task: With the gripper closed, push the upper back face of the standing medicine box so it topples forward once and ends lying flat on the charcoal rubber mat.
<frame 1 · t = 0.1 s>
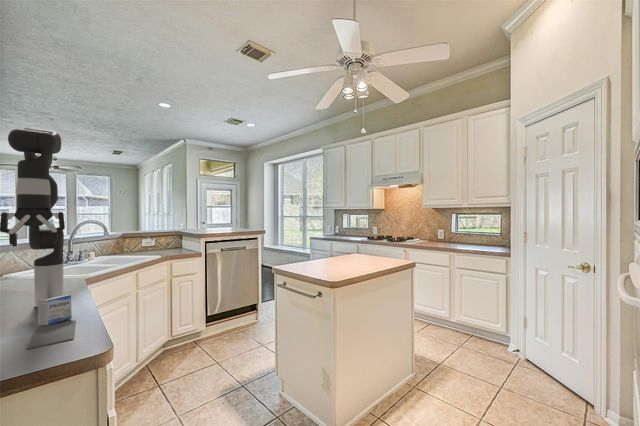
hand: (34, 245, 89), 29 cm above the counter, tool pointing down, fingers open, 8 cm apart
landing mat: (54, 333, 91), on the counter
medicine box: (55, 322, 101), on the counter, touching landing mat
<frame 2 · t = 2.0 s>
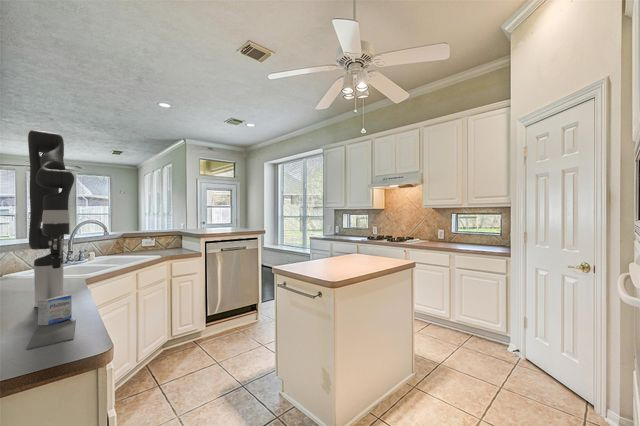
hand: (56, 268, 106), 19 cm above the counter, tool pointing down, fingers closed
nothing on the counter moved.
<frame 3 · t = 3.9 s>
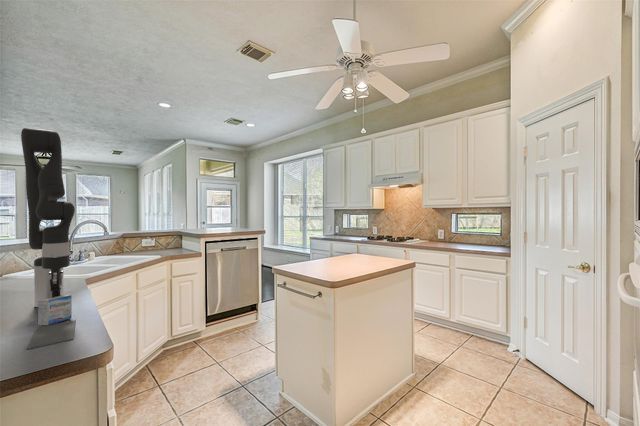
hand: (56, 300, 105), 7 cm above the counter, tool pointing down, fingers closed
medicine box: (55, 322, 101), on the counter, touching gripper, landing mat
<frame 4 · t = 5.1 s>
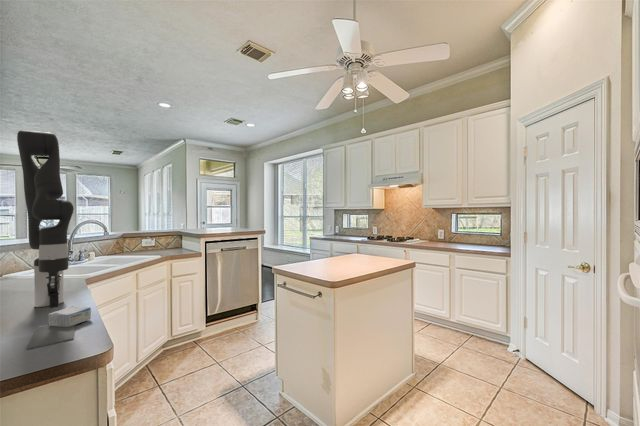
hand: (54, 306, 98), 7 cm above the counter, tool pointing down, fingers closed
medicine box: (59, 315, 101), point 3 cm above the counter, touching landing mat
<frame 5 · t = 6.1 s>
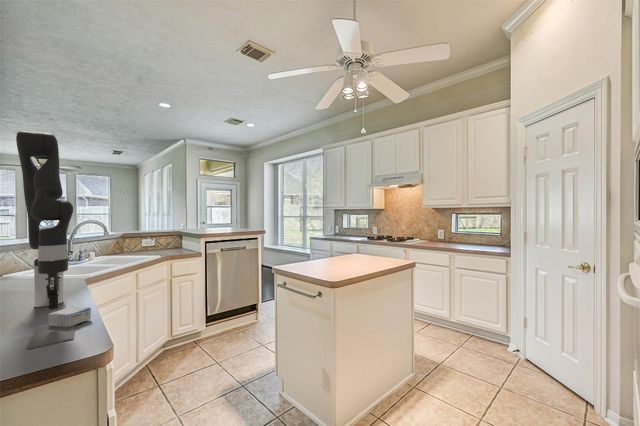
hand: (53, 308, 96), 7 cm above the counter, tool pointing down, fingers closed
nothing on the counter moved.
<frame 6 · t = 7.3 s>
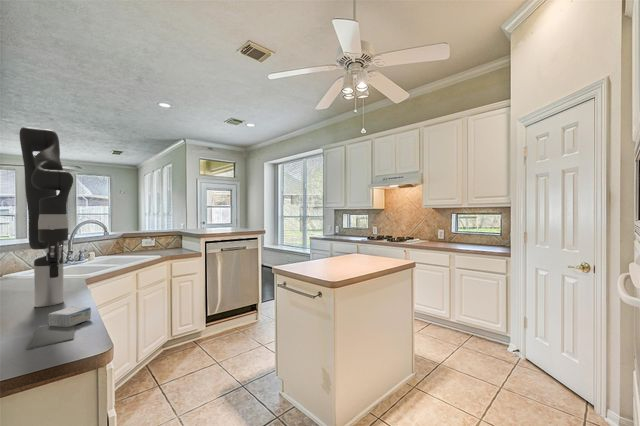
hand: (54, 277, 98), 17 cm above the counter, tool pointing down, fingers closed
nothing on the counter moved.
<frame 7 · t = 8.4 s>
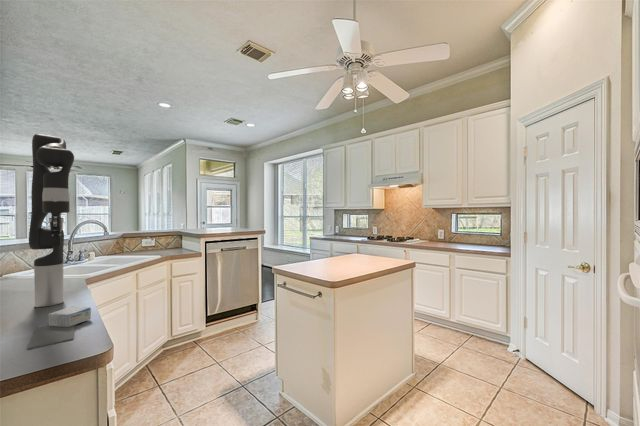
hand: (56, 245, 107), 27 cm above the counter, tool pointing down, fingers closed
nothing on the counter moved.
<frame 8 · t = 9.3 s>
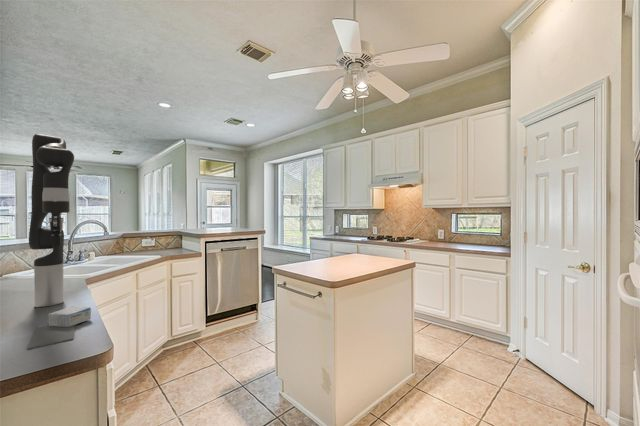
hand: (56, 245, 107), 27 cm above the counter, tool pointing down, fingers closed
nothing on the counter moved.
at the end: medicine box tilted 90°; medicine box inside the target area (3.2 cm from its centre), point 2.6 cm above the counter; the gripper is holding nothing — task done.
